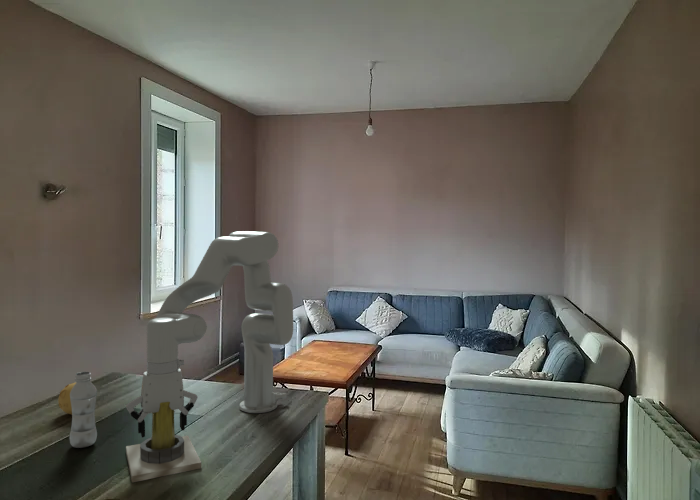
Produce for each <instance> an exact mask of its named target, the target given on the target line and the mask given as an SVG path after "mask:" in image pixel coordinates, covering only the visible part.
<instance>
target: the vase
mask: <svg viewBox="0 0 700 500" xmlns="http://www.w3.org/2000/svg"><path fill="white" fill-rule="evenodd" d="M169 405H170V402H163V403H160V408H159V411H158V412H156V413H151V414H152V415H151V416H152V419H151V420H152V422H151V437H152V441H151V449H155V450H161V449H167V448H170V447H173V446H175V435H176V434H175V433H176V432H175V410H172V409H171V408H170V407H169Z"/></svg>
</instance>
